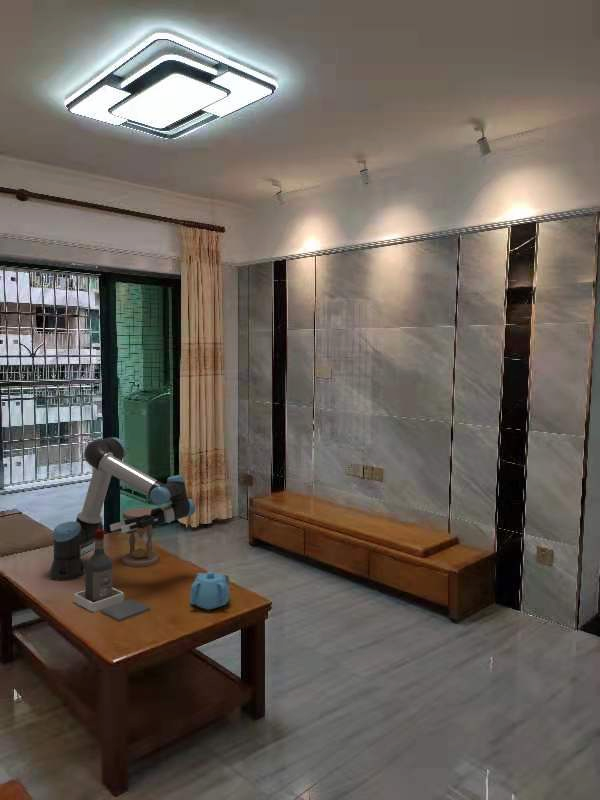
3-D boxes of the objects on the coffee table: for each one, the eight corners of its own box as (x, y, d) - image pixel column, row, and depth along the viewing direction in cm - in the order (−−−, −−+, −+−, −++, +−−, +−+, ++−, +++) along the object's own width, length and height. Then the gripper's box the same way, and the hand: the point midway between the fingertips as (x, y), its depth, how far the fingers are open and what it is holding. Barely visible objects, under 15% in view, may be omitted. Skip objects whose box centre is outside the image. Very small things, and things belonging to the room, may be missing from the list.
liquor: (115, 601, 240) (115, 530, 238) (95, 608, 233) (95, 535, 231) (102, 595, 246) (102, 525, 244) (82, 602, 238) (83, 530, 237)
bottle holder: (73, 602, 238) (73, 593, 238) (104, 591, 249) (104, 583, 249) (92, 612, 229) (92, 603, 229) (124, 601, 240) (124, 593, 240)
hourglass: (116, 559, 289) (116, 510, 288) (148, 553, 301) (148, 505, 300) (132, 569, 276) (132, 518, 275) (165, 562, 288) (165, 512, 287)
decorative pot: (233, 598, 247) (234, 566, 246) (224, 614, 231) (225, 580, 230) (196, 595, 248) (197, 564, 248) (184, 611, 232) (185, 577, 232)
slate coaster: (100, 611, 230) (100, 609, 230) (130, 601, 240) (130, 598, 240) (119, 621, 221) (119, 619, 221) (149, 610, 232) (149, 607, 232)
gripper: (175, 525, 249) (128, 539, 237) (152, 522, 269) (107, 535, 256) (172, 508, 249) (124, 521, 237) (149, 506, 269) (104, 519, 256)
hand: (115, 529), depth 246 cm, fingers open, 13 cm apart
